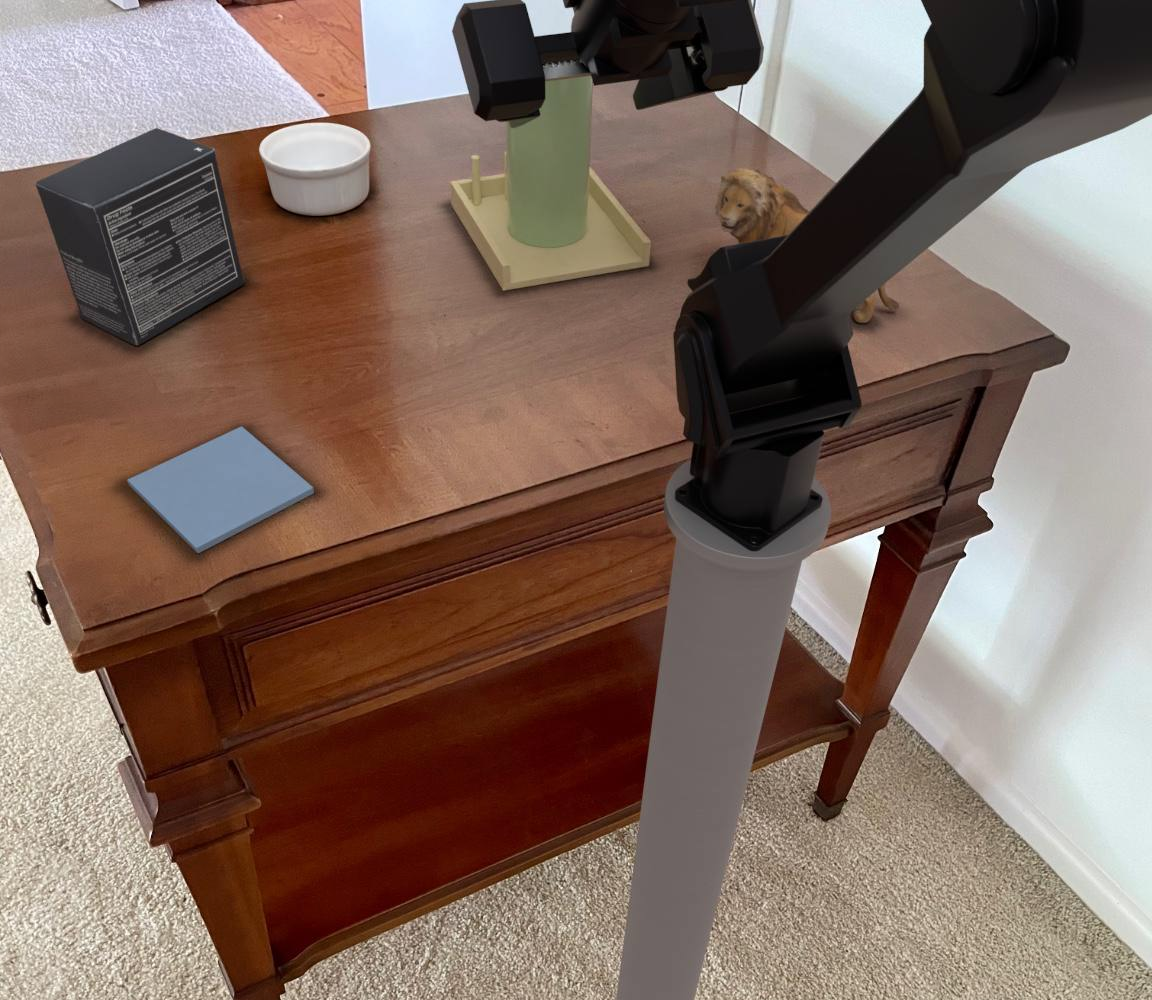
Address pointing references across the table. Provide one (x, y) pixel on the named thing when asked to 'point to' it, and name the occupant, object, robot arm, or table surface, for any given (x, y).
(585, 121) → the pale green cylinder
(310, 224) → the table surface
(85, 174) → the small box
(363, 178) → the ramekin
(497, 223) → the dish rack
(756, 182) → the lion figurine
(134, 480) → the mat
